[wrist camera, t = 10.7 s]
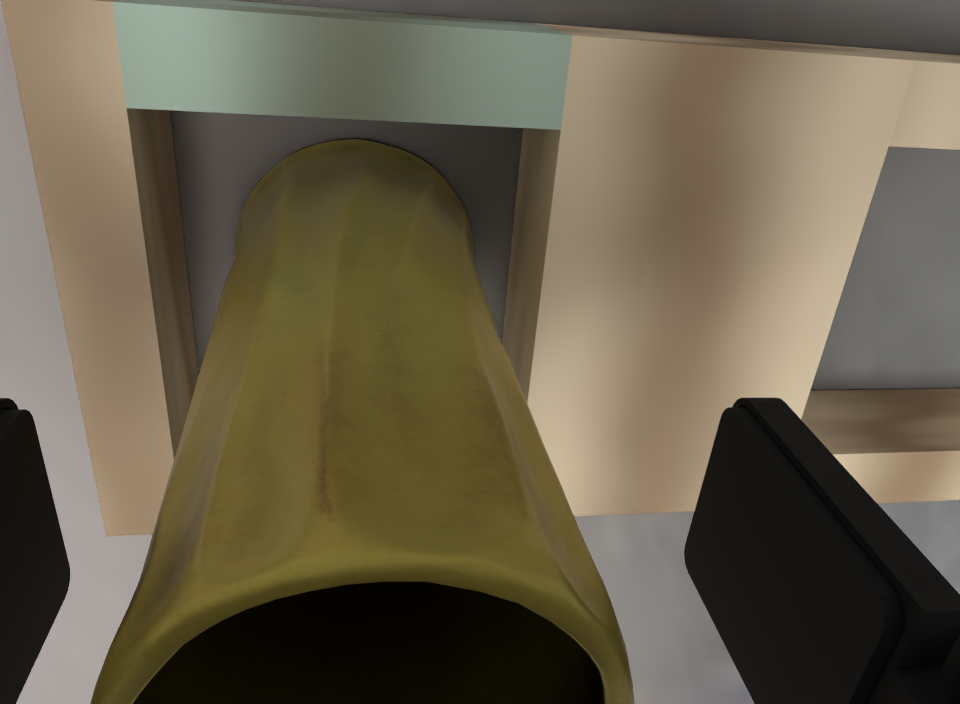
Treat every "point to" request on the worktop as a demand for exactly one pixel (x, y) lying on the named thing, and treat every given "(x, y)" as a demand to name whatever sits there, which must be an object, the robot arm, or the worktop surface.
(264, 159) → the worktop surface
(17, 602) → the robot arm
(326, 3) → the worktop surface
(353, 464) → the vase
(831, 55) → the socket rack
